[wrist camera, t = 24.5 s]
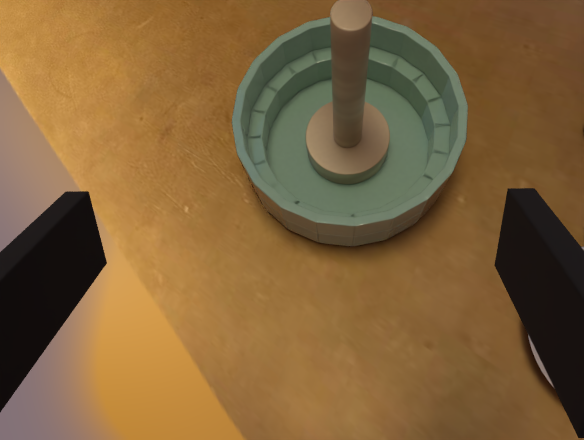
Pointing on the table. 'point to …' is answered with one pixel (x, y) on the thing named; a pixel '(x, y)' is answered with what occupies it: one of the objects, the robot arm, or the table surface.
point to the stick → (348, 104)
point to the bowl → (379, 92)
